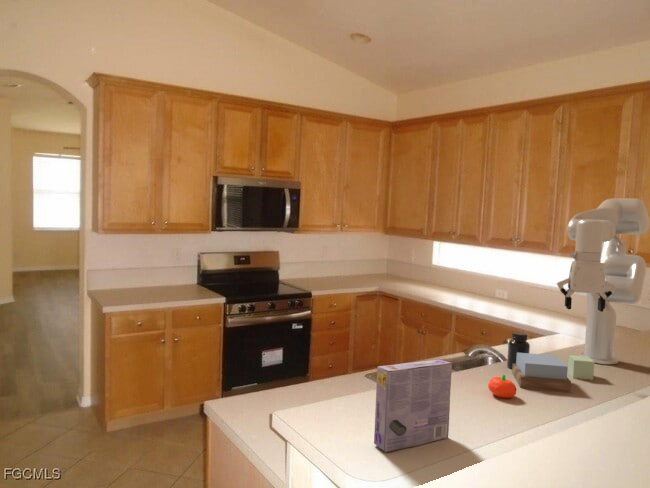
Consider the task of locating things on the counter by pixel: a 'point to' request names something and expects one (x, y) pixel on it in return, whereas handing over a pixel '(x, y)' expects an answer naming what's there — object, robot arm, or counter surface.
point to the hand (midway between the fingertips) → (584, 309)
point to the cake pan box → (412, 404)
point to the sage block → (581, 367)
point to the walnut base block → (540, 382)
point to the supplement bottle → (517, 347)
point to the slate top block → (541, 366)
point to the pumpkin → (502, 387)
